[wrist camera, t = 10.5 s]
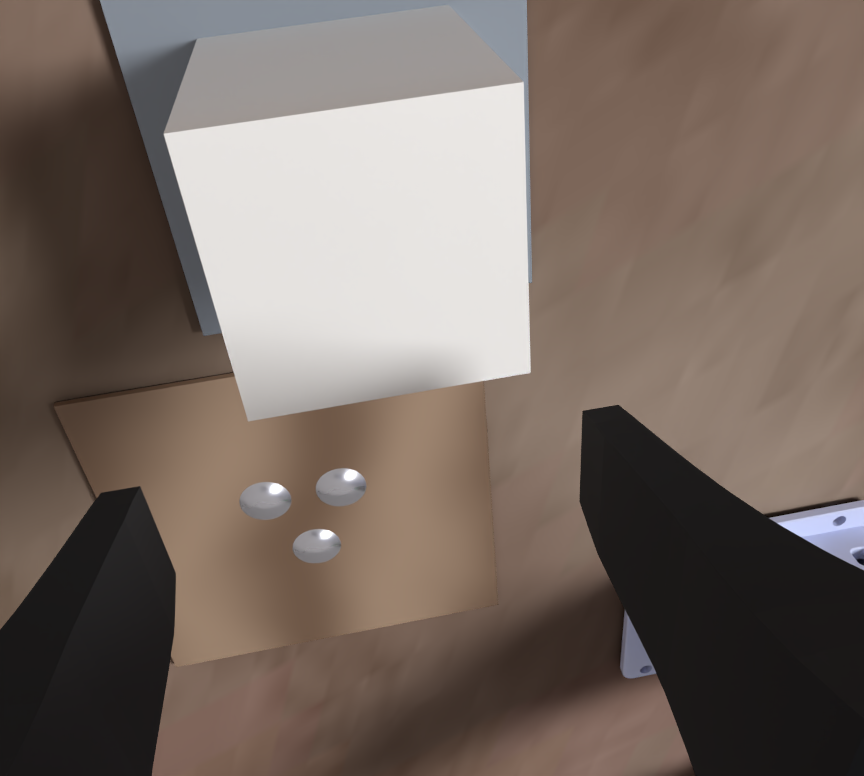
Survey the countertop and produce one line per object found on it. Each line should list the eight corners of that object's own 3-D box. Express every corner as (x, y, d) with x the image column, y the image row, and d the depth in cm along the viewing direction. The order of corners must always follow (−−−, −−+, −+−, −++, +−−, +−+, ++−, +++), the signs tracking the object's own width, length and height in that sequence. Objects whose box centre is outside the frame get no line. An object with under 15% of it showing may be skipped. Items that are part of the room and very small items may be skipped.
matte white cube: (448, 4, 17) (523, 81, 12) (465, 234, 21) (530, 372, 15) (197, 38, 17) (163, 133, 12) (254, 267, 20) (248, 421, 15)
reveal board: (479, 331, 23) (480, 335, 23) (496, 600, 30) (498, 604, 30) (54, 402, 22) (53, 406, 22) (176, 662, 29) (176, 667, 29)
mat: (521, -99, 17) (524, -98, 17) (528, 277, 22) (531, 282, 22) (89, -46, 16) (86, -43, 16) (204, 330, 21) (203, 335, 21)
